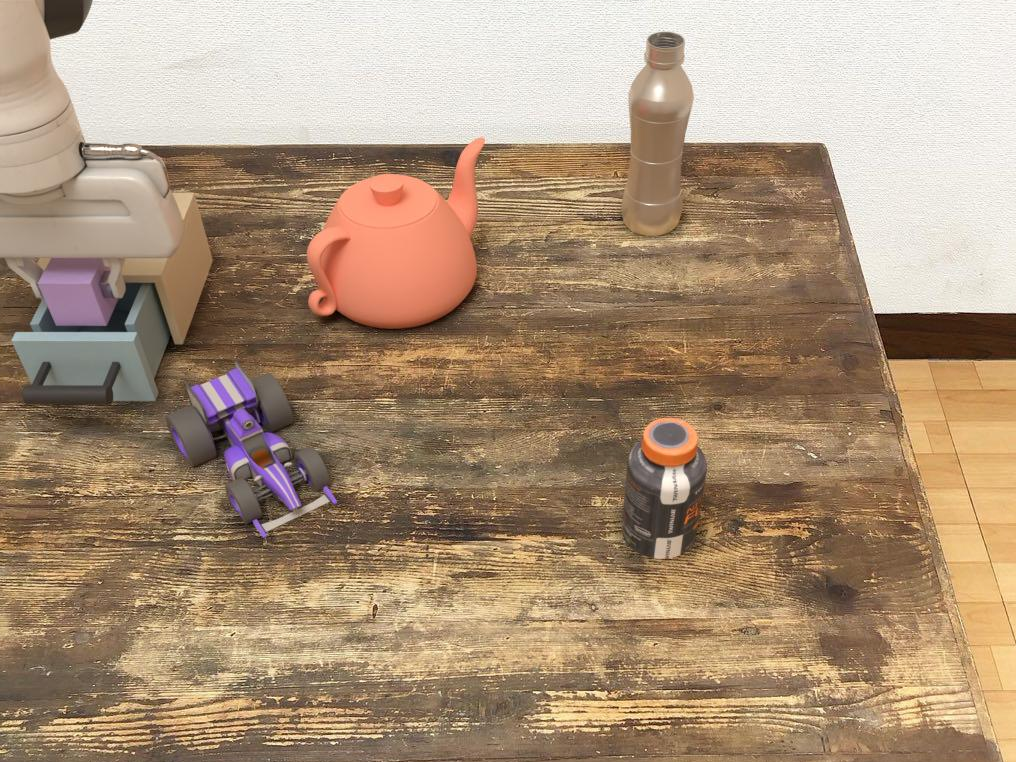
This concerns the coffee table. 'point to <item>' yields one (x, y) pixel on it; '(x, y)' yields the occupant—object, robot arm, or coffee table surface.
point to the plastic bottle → (657, 137)
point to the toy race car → (248, 443)
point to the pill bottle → (664, 490)
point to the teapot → (397, 249)
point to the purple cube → (76, 292)
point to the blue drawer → (96, 353)
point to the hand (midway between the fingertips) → (81, 294)
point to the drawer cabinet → (175, 270)
